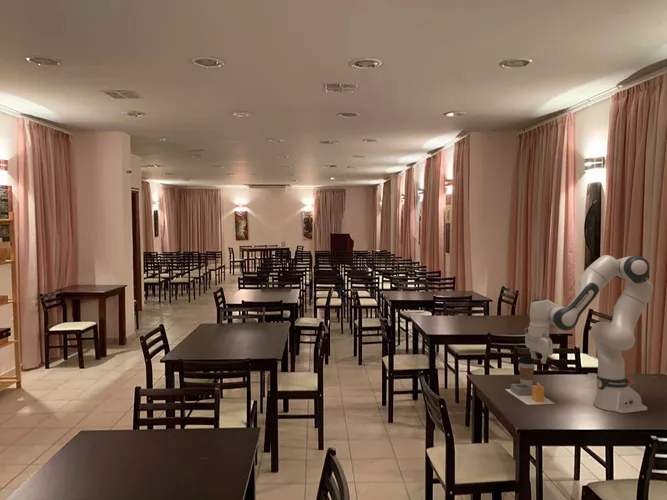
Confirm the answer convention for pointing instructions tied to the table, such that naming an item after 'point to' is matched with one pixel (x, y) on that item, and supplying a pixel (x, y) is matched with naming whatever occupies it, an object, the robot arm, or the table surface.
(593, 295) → the robot arm
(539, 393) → the plug
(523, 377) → the coffee cup
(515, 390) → the white board with socket
